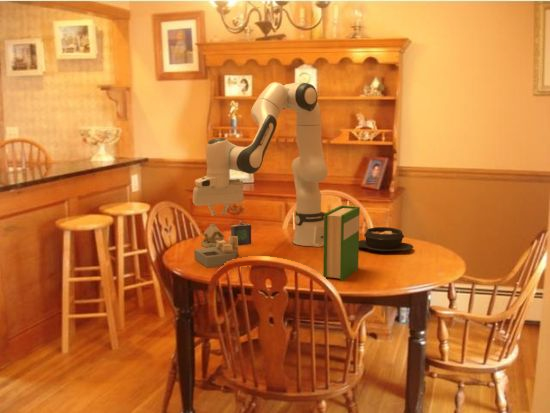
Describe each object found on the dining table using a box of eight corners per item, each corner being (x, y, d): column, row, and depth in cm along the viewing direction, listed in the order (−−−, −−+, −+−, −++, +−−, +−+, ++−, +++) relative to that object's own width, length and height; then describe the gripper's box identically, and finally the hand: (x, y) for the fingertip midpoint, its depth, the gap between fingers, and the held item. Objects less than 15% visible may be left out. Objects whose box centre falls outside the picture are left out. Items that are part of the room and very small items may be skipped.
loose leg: (235, 254, 242) (235, 235, 241) (239, 256, 239) (239, 237, 238) (227, 255, 240) (227, 236, 239) (231, 257, 237) (230, 238, 236)
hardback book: (342, 281, 206) (344, 215, 201) (323, 278, 209) (324, 213, 204) (358, 268, 221) (359, 207, 217) (339, 266, 224) (341, 205, 220)
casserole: (350, 252, 245) (350, 233, 243) (359, 242, 262) (359, 224, 260) (410, 257, 236) (411, 237, 235) (415, 246, 254) (416, 228, 252)
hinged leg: (215, 247, 238) (215, 240, 237) (222, 246, 239) (222, 239, 238) (225, 253, 228) (225, 246, 227) (232, 252, 229) (232, 245, 228)
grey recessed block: (221, 255, 240) (221, 246, 240) (235, 263, 228) (235, 253, 228) (194, 259, 235) (194, 249, 234) (207, 267, 223) (207, 257, 222)
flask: (231, 246, 256) (231, 222, 254) (230, 244, 259) (230, 221, 257) (251, 244, 259) (251, 220, 257) (250, 242, 262) (249, 219, 260)
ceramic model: (198, 243, 262) (197, 221, 260) (221, 240, 266) (221, 219, 264) (206, 250, 249) (205, 227, 247) (231, 247, 253) (230, 225, 251)
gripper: (240, 177, 232) (240, 211, 234) (190, 180, 224) (191, 215, 226) (245, 179, 226) (246, 214, 228) (195, 182, 218) (196, 218, 220)
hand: (218, 215), depth 227 cm, fingers open, 3 cm apart
